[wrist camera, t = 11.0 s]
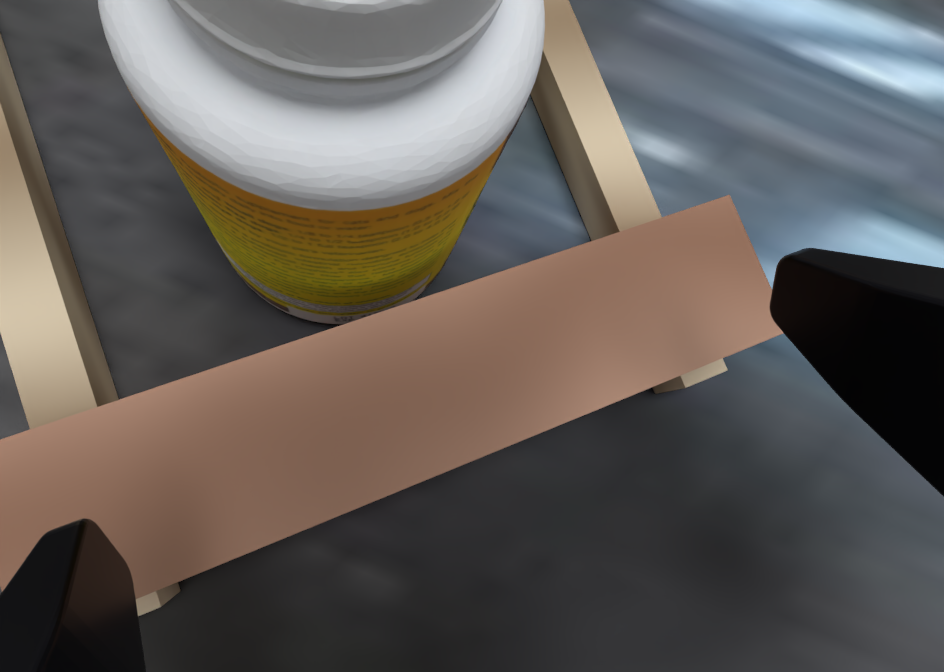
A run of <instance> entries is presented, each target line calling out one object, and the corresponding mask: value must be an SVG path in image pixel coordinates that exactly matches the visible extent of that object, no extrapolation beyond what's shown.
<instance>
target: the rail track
mask: <svg viewBox="0 0 944 672" xmlns="http://www.w3.org/2000/svg"><path fill="white" fill-rule="evenodd" d="M544 11H545V32H544V46H543V51H542V57H541V63H540V67H539V70H538V74H537V77H536V80H535V83H534V85H533V88H532V90H531V93H530V94H531V97H532V99H533V102H534V104H535V106H536V109H537V111H538V114H539V116H540V118H541V121H542V123H543V126H544V128H545V130H546V133H547V135H548V138H549V140H550V142H551V145H552V147H553V150H554V152H555V154H556V157H557V159H558V162H559V164H560V166H561V169H562V171H563V174H564V176H565V178H566V181H567V183H568V186H569V188H570V190H571V193H572V195H573V198H574V200H575V202H576V205H577V207H578V210H579V212H580V214H581V217H582V219H583V222H584V224H585V226H586V229H587V231H588V234H589V236H590V238H591V242H588V243H585V244H582V245H579V246H576V247H573V248H570V249H567V250H564V251H561V252H558V253H555V254H552V255H549V256H546V257H543V258H540V259H537V260H534V261H531V262H528V263H525V264H522V265H519V266H516V267H513V268H510V269H507V270H504V271H501V272H498V273H495V274H492V275H489V276H486V277H483V278H480V279H477V280H474V281H471V282H468V283H465V284H462V285H459V286H456V287H454V288H451V289H448V290H445V291H442V292H439V293H436V294H433V295H430V296H427V297H424V298H421V299H418V300H415V301H412V302H409V303H406V304H403V305H400V306H397V307H394V308H391V309H388V310H385V311H382V312H379V313H376V314H373V315H370V316H367V317H364V318H361V319H358V320H355V321H352V322H349V323H346V324H343V325H340V326H337V327H334V328H331V329H328V330H325V331H322V332H319V333H316V334H313V335H310V336H307V337H305V338H302V339H299V340H296V341H293V342H290V343H287V344H284V345H281V346H278V347H275V348H272V349H269V350H266V351H263V352H260V353H257V354H254V355H251V356H248V357H245V358H242V359H239V360H236V361H233V362H230V363H227V364H224V365H221V366H218V367H215V368H212V369H209V370H206V371H203V372H200V373H197V374H194V375H191V376H188V377H185V378H182V379H179V380H176V381H173V382H170V383H167V384H164V385H161V386H159V387H156V388H153V389H150V390H147V391H144V392H141V393H138V394H135V395H132V396H129V397H126V398H123V399H120V400H119V398H118V395H117V392H116V389H115V386H114V383H113V380H112V377H111V374H110V371H109V368H108V364H107V361H106V358H105V355H104V352H103V349H102V346H101V343H100V340H99V337H98V333H97V330H96V327H95V324H94V321H93V318H92V315H91V312H90V309H89V306H88V303H87V299H86V296H85V293H84V290H83V287H82V284H81V281H80V278H79V275H78V272H77V269H76V265H75V262H74V259H73V256H72V253H71V250H70V247H69V244H68V241H67V238H66V235H65V231H64V228H63V225H62V222H61V219H60V216H59V213H58V210H57V207H56V204H55V200H54V197H53V194H52V191H51V188H50V185H49V182H48V179H47V176H46V173H45V170H44V166H43V163H42V160H41V157H40V154H39V151H38V148H37V145H36V142H35V139H34V136H33V132H32V129H31V126H30V123H29V120H28V117H27V114H26V111H25V108H24V105H23V102H22V98H21V95H20V92H19V89H18V86H17V83H16V80H15V77H14V74H13V71H12V68H11V64H10V61H9V58H8V55H7V52H6V49H5V46H4V43H3V40H2V37H1V33H0V333H1V336H2V339H3V342H4V346H5V349H6V352H7V356H8V359H9V362H10V365H11V369H12V372H13V375H14V378H15V382H16V385H17V388H18V391H19V395H20V398H21V401H22V404H23V408H24V411H25V414H26V418H27V421H28V424H29V427H30V430H27V431H24V432H21V433H18V434H15V435H12V436H10V437H7V438H4V439H1V440H0V587H1V590H2V592H3V590H4V589H5V587H6V586H7V585H8V583H9V582H10V580H11V579H12V578H13V576H14V575H15V573H16V572H17V570H18V569H19V568H20V566H21V565H22V563H23V562H24V561H25V559H26V558H27V556H28V555H29V553H30V552H31V551H32V549H33V548H34V546H35V545H36V544H37V542H38V541H39V539H40V538H41V537H42V536H43V535H44V534H45V533H46V532H48V531H50V530H52V529H55V528H57V527H60V526H63V525H65V524H68V523H71V522H73V521H76V520H79V519H82V518H87V519H91V520H92V521H94V522H95V523H96V524H97V525H98V526H99V527H100V529H101V530H102V531H103V532H104V534H105V535H106V536H107V538H108V539H109V540H110V542H111V543H112V544H113V545H114V547H115V548H116V549H117V551H118V552H119V553H120V555H121V556H122V557H123V558H124V560H125V561H126V563H127V565H128V567H129V569H130V572H131V575H132V579H133V584H134V591H135V598H136V605H137V613H138V616H140V615H143V614H145V613H148V612H150V611H152V610H155V609H157V608H160V607H162V606H163V605H164V604H165V603H166V602H168V601H169V600H170V599H171V598H173V597H174V596H175V595H176V594H177V593H179V592H180V591H181V590H180V587H179V584H178V582H179V581H182V580H184V579H187V578H189V577H191V576H194V575H196V574H199V573H201V572H204V571H206V570H208V569H211V568H213V567H216V566H218V565H221V564H223V563H225V562H228V561H230V560H233V559H235V558H238V557H240V556H242V555H245V554H247V553H250V552H252V551H255V550H257V549H260V548H262V547H264V546H267V545H269V544H272V543H274V542H277V541H279V540H281V539H284V538H286V537H289V536H291V535H294V534H296V533H298V532H301V531H303V530H306V529H308V528H311V527H313V526H316V525H318V524H320V523H323V522H325V521H328V520H330V519H333V518H335V517H337V516H340V515H342V514H345V513H347V512H350V511H352V510H354V509H357V508H359V507H362V506H364V505H367V504H369V503H371V502H374V501H376V500H379V499H381V498H384V497H386V496H389V495H391V494H393V493H396V492H398V491H401V490H403V489H406V488H408V487H410V486H413V485H415V484H418V483H420V482H423V481H425V480H427V479H430V478H432V477H435V476H437V475H440V474H442V473H445V472H447V471H449V470H452V469H454V468H457V467H459V466H462V465H464V464H466V463H469V462H471V461H474V460H476V459H479V458H481V457H483V456H486V455H488V454H491V453H493V452H496V451H498V450H500V449H503V448H505V447H508V446H510V445H513V444H515V443H518V442H520V441H522V440H525V439H527V438H530V437H532V436H535V435H537V434H539V433H542V432H544V431H547V430H549V429H552V428H554V427H556V426H559V425H561V424H564V423H566V422H569V421H571V420H574V419H576V418H578V417H581V416H583V415H586V414H588V413H591V412H593V411H595V410H598V409H600V408H603V407H605V406H608V405H610V404H612V403H615V402H617V401H620V400H622V399H625V398H627V397H629V396H632V395H634V394H637V393H639V392H642V391H644V390H647V389H649V388H651V387H653V390H654V392H655V394H658V393H663V392H668V391H673V390H678V389H683V388H687V387H689V386H691V385H694V384H696V383H699V382H701V381H703V380H706V379H708V378H711V377H713V376H715V375H718V374H720V373H723V372H725V371H727V368H726V365H725V363H724V361H723V358H724V357H727V356H729V355H732V354H734V353H737V352H739V351H741V350H744V349H746V348H749V347H751V346H754V345H756V344H758V343H761V342H763V341H766V340H768V339H771V338H773V337H776V336H778V335H780V334H783V332H782V330H781V329H780V328H779V327H778V326H777V325H776V323H775V322H774V320H773V319H772V317H771V314H770V308H769V306H770V299H771V294H772V289H771V287H770V285H769V282H768V280H767V278H766V276H765V273H764V271H763V269H762V267H761V264H760V262H759V260H758V258H757V255H756V253H755V251H754V249H753V246H752V244H751V242H750V240H749V237H748V235H747V233H746V231H745V228H744V226H743V224H742V222H741V219H740V217H739V215H738V213H737V210H736V208H735V206H734V204H733V201H732V199H731V197H730V195H728V196H725V197H722V198H719V199H716V200H713V201H710V202H707V203H704V204H701V205H698V206H695V207H692V208H689V209H686V210H683V211H680V212H677V213H674V214H671V215H668V216H665V217H661V214H660V212H659V210H658V207H657V205H656V203H655V200H654V198H653V196H652V193H651V191H650V189H649V186H648V184H647V182H646V179H645V177H644V175H643V172H642V170H641V168H640V165H639V163H638V161H637V158H636V156H635V154H634V151H633V149H632V147H631V145H630V142H629V140H628V138H627V135H626V133H625V131H624V128H623V126H622V124H621V121H620V119H619V117H618V114H617V112H616V110H615V107H614V105H613V103H612V100H611V98H610V96H609V93H608V91H607V89H606V86H605V84H604V82H603V79H602V77H601V75H600V72H599V70H598V68H597V66H596V63H595V61H594V59H593V56H592V54H591V52H590V49H589V47H588V45H587V42H586V40H585V38H584V35H583V33H582V31H581V28H580V26H579V24H578V21H577V19H576V17H575V14H574V12H573V10H572V7H571V5H570V3H569V0H544Z"/></svg>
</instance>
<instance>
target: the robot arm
mask: <svg viewBox="0 0 944 672" xmlns="http://www.w3.org/2000/svg"><path fill="white" fill-rule="evenodd" d="M769 308H770V314H771V317H772V319H773V320H774V322H775V323H776V325H777V326H778V327H779V328H780V329H781V330H782V332H783V333H784V334H785V335H786V336H787V337H788V338H789V340H790V341H791V342H792V343H793V344H794V345H795V346H796V348H797V349H798V350H799V351H800V352H801V353H802V355H803V356H804V357H805V358H806V359H807V360H808V361H809V363H810V364H811V365H812V366H813V367H814V368H815V369H816V371H817V372H818V373H819V374H820V375H821V376H822V377H823V379H824V380H825V381H826V382H827V383H828V384H829V385H830V387H831V388H832V389H833V390H834V391H835V392H836V393H837V394H838V395H839V397H840V398H841V399H842V400H843V401H844V402H845V403H846V404H847V405H848V406H849V407H850V408H851V409H852V410H853V411H854V412H855V413H856V414H857V415H858V416H859V417H860V418H861V419H863V420H864V421H865V422H866V423H867V424H868V425H869V426H870V427H871V428H872V429H873V430H874V431H875V432H876V433H877V434H878V435H879V436H880V437H881V438H883V439H884V440H885V441H886V442H887V443H888V444H889V445H890V446H891V447H892V448H893V449H894V450H895V451H896V452H897V453H898V454H899V455H900V456H902V457H903V458H904V459H905V460H906V461H907V462H908V463H909V464H910V465H911V466H912V467H913V468H914V469H915V470H916V471H917V472H918V473H919V474H920V475H922V476H923V477H924V478H925V479H926V480H927V481H928V482H929V483H930V484H931V485H932V486H933V487H934V488H935V489H936V490H937V491H938V492H939V493H940V494H942V495H943V496H944V268H939V267H932V266H926V265H919V264H913V263H906V262H900V261H894V260H887V259H881V258H874V257H868V256H861V255H855V254H848V253H842V252H835V251H829V250H822V249H816V248H806V249H802V250H800V251H797V252H794V253H791V254H789V255H786V256H784V257H783V258H782V259H781V260H780V261H779V263H778V265H777V268H776V273H775V278H774V283H773V289H772V294H771V299H770V306H769ZM0 672H146V669H145V662H144V655H143V648H142V641H141V634H140V627H139V620H138V613H137V605H136V598H135V591H134V584H133V579H132V575H131V572H130V569H129V567H128V565H127V563H126V561H125V560H124V558H123V557H122V556H121V555H120V553H119V552H118V551H117V549H116V548H115V547H114V545H113V544H112V543H111V542H110V540H109V539H108V538H107V536H106V535H105V534H104V532H103V531H102V530H101V529H100V527H99V526H98V525H97V524H96V523H95V522H94V521H92V520H91V519H87V518H82V519H79V520H76V521H73V522H71V523H68V524H65V525H63V526H60V527H57V528H55V529H52V530H50V531H48V532H46V533H45V534H44V535H43V536H42V537H41V538H40V539H39V541H38V542H37V544H36V545H35V546H34V548H33V549H32V551H31V552H30V553H29V555H28V556H27V558H26V559H25V561H24V562H23V563H22V565H21V566H20V568H19V569H18V570H17V572H16V573H15V575H14V576H13V578H12V579H11V580H10V582H9V583H8V585H7V586H6V587H5V589H4V590H3V592H2V593H1V595H0Z"/></svg>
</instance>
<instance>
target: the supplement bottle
mask: <svg viewBox="0 0 944 672" xmlns="http://www.w3.org/2000/svg"><path fill="white" fill-rule="evenodd" d="M98 7H99V12H100V17H101V21H102V25H103V29H104V33H105V36H106V39H107V42H108V44H109V47H110V50H111V52H112V56H113V58H114V60H115V63H116V65H117V67H118V70H119V72H120V74H121V76H122V78H123V80H124V82H125V84H126V86H127V88H128V90H129V91H130V93H131V95H132V96H133V98H134V100H135V101H136V103H137V105H138V107H139V108H140V110H141V112H142V113H143V115H144V117H145V118H146V120H147V122H148V123H149V125H150V127H151V129H152V130H153V132H154V134H155V135H156V137H157V139H158V140H159V142H160V144H161V145H162V147H163V149H164V150H165V152H166V154H167V156H168V157H169V159H170V161H171V162H172V164H173V166H174V167H175V169H176V171H177V173H178V174H179V176H180V178H181V179H182V181H183V183H184V185H185V186H186V188H187V190H188V192H189V193H190V195H191V197H192V199H193V200H194V202H195V204H196V205H197V207H198V209H199V211H200V212H201V214H202V216H203V217H204V219H205V221H206V223H207V225H208V226H209V228H210V230H211V232H212V234H213V235H214V237H215V239H216V241H217V242H218V244H219V245H220V247H221V249H222V251H223V252H224V254H225V256H226V257H227V259H228V261H229V262H230V264H231V265H232V267H233V268H234V269H235V271H236V272H237V273H238V275H239V276H240V277H241V278H242V279H243V281H244V282H245V283H246V284H247V285H248V286H249V287H250V288H251V289H252V290H253V291H254V292H256V293H257V294H258V295H259V296H260V297H262V298H263V299H264V300H266V301H267V302H268V303H270V304H271V305H273V306H275V307H276V308H278V309H280V310H282V311H284V312H286V313H288V314H291V315H294V316H296V317H299V318H302V319H306V320H310V321H314V322H319V323H327V324H346V323H349V322H352V321H355V320H358V319H361V318H364V317H367V316H370V315H373V314H376V313H379V312H382V311H385V310H388V309H391V308H394V307H397V306H400V305H403V304H406V303H409V302H411V301H413V300H414V299H415V298H416V297H418V296H419V295H420V294H421V293H422V292H423V291H424V290H425V289H426V288H427V287H428V286H429V285H430V284H431V283H432V281H433V280H434V279H435V278H436V276H437V275H438V274H439V272H440V271H441V269H442V268H443V266H444V265H445V263H446V261H447V259H448V257H449V255H450V253H451V251H452V249H453V247H454V245H455V244H456V242H457V240H458V238H459V236H460V234H461V232H462V230H463V228H464V226H465V224H466V222H467V220H468V218H469V216H470V214H471V212H472V210H473V209H474V207H475V204H476V202H477V200H478V198H479V196H480V194H481V192H482V190H483V188H484V186H485V184H486V182H487V180H488V178H489V176H490V174H491V172H492V170H493V168H494V166H495V164H496V162H497V160H498V158H499V157H500V155H501V153H502V151H503V149H504V147H505V145H506V143H507V141H508V139H509V138H510V136H511V134H512V132H513V130H514V128H515V127H516V125H517V123H518V120H519V118H520V116H521V114H522V112H523V110H524V108H525V107H526V104H527V101H528V98H529V95H530V93H531V90H532V88H533V85H534V83H535V80H536V77H537V74H538V70H539V67H540V63H541V57H542V51H543V46H544V32H545V11H544V0H98Z"/></svg>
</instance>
